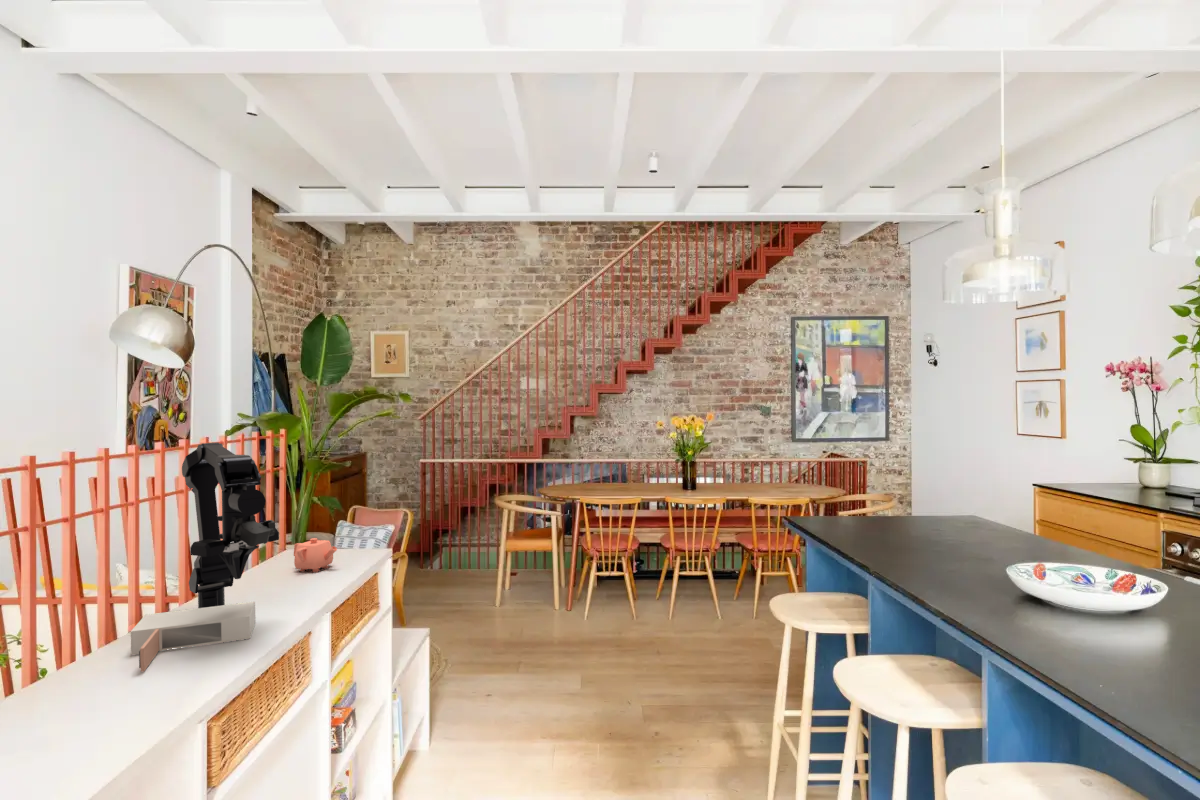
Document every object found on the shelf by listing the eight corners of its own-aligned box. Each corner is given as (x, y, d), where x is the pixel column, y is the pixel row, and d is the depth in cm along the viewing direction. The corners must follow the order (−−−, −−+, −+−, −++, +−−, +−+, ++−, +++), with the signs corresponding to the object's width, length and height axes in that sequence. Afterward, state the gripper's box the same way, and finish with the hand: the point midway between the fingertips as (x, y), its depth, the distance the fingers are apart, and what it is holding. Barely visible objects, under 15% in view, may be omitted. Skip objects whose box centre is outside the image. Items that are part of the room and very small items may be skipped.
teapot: (337, 570, 205) (337, 539, 205) (295, 576, 199) (295, 544, 199) (333, 562, 215) (332, 533, 215) (293, 567, 209) (292, 537, 209)
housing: (146, 636, 148) (145, 614, 148) (255, 622, 157) (255, 601, 157) (131, 655, 137) (130, 631, 137) (249, 638, 145) (249, 616, 145)
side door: (159, 650, 139) (158, 628, 139) (144, 671, 128) (143, 648, 128) (154, 650, 139) (153, 629, 139) (138, 672, 127) (138, 648, 127)
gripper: (223, 519, 139) (225, 593, 139) (295, 505, 156) (296, 571, 156) (187, 517, 143) (189, 588, 143) (261, 504, 161) (262, 567, 161)
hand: (237, 578), depth 151 cm, fingers closed
